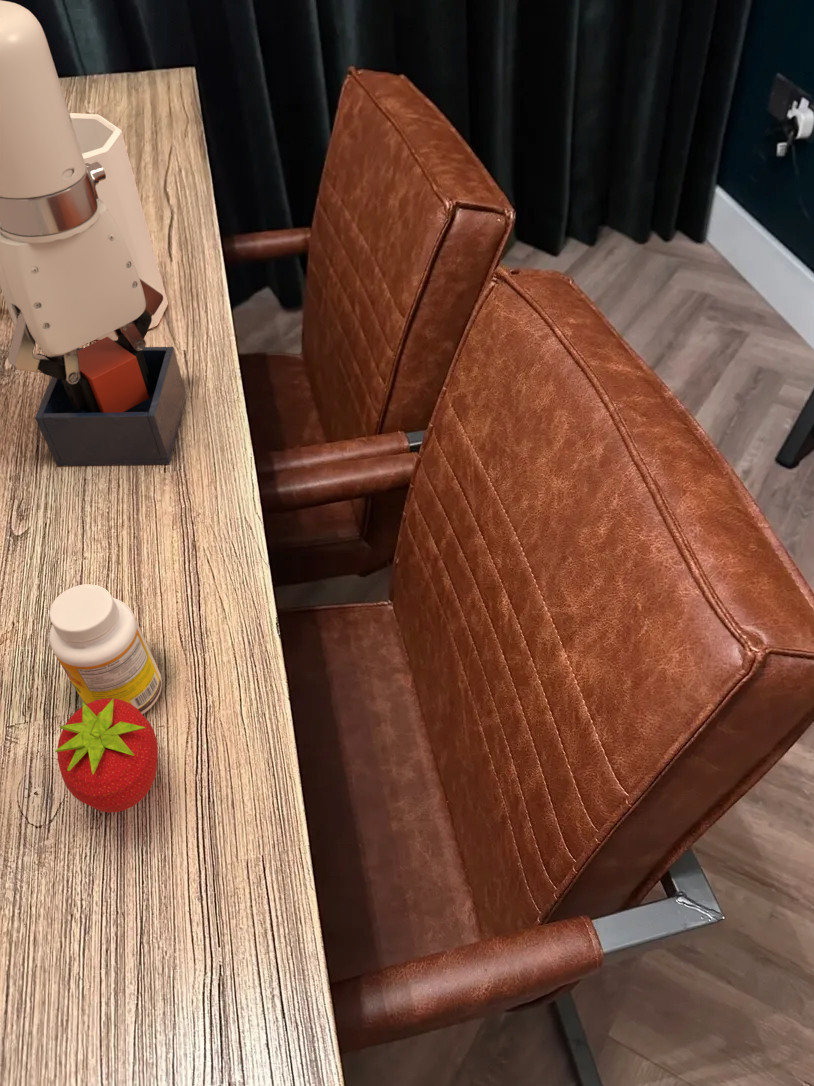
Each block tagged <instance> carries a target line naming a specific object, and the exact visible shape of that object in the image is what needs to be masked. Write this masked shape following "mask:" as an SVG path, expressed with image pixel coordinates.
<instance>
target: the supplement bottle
mask: <svg viewBox="0 0 814 1086" xmlns="http://www.w3.org/2000/svg"><path fill="white" fill-rule="evenodd" d="M48 614H49V620H50V622H51V627H50V628H49V629H50V630H49V637H48V639H49V646H50V648H51V650H52V652H53V654H54V656H55V658H56V659H57V661H58V663H59V664H60V666H61V667H62V669H63V670H64V672H65V674H66V675H67V677H68V679H69V680H70V683H71V684H72V686H73V687H74V689H75V690H76V692H77V694H78V695H79V697H80V699H81V700H82V703H83V702H84V703H85V704H88V703H90V702H93V701H95V700H99V699H104V698H115V699H120V700H123V701H126V702H128V703H130V704H131V705H133V706H134V707H136V708H137V709H138V710H139V711H140V712H141V713H142V714H143V715H144V714H145V713H146V712H147V711H149V710H150V709H151V708H152V707H153V706H154V705H155V704H156V702H157V701H158V698H159V696H160V695H161V691H162V688H163V687H162V686H163V678H162V675H161V672H160V670H159V666H158V665H157V663H156V660H155V658H154V656H153V654H152V651H151V649H150V646H149V644H148V642H147V640H146V638H145V636H144V634H143V631H142V629H141V626H140V624H139V622H138V620H137V618H136V615H135V614H134V612H133V610H132V608H131V607H129V606H128V605H127V603H125V602H124V601H122V600H120V599H118V598H115V597H113V596H112V594H111V593H110V591H108V590H107V589H106V588H105V587H103V586H101V585H98V584H92V583H91V584H90V583H86V584H85V583H84V584H79V585H75V586H72V587H70V588H67V589H66V590H64V591H63V592H61V593H60V594H59V595H57V596H56V597H55V599H54V600H53V602H52V603H51V605H50V608H49V612H48Z"/></svg>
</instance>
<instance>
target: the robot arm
mask: <svg viewBox="0 0 814 1086" xmlns="http://www.w3.org/2000/svg"><path fill="white" fill-rule="evenodd" d="M53 59H54V58H53V56H52V53H51V50H50V46H49V43H48V39H47V37H46V33H45V31H44V29H43V27H42V25H41V23H40V22H39V20H38V19H37V17H36V16H35V15H34V14H33V13H32V12H31V11H30V10H29V9H27V8H26V7H24V6H22V5H21V4H18V3H16V2H12V1H7V0H0V290H1V292H2V296H3V299H4V302H5V304H6V308H7V310H8V313H9V316H10V318H11V321H12V323H13V326H14V331H13V335H12V339H11V343H10V347H9V352H8V356H7V361H8V363H9V364H10V365H11V366H13V367H14V368H15V369H16V370H17V371H24V372H28V373H39V374H43V375H45V376H48V377H50V378H52V377H54V378H58V379H61V380H62V382H63V385H64V387H65V390H66V392H67V394H68V397H69V399H70V401H71V403H72V405H73V406H74V407H75V408H76V409H78V410H81V409H83V410H84V411H85V412H87V413H101V412H100V410H99V407H98V405H97V402H96V399H95V397H94V394H93V391H92V389H91V386H90V384H89V381H88V380H87V379H86V378H85V377H83V376H82V375H81V373H80V368H79V360H78V351H77V348H82V347H83V346H86V345H87V344H90V343H93V342H94V341H97V340H96V339H98V338H100V337H102V336H104V335H106V334H108V333H110V332H112V331H114V333H115V334H116V336H117V337H118V340H113V341H114V342H116V343H117V344H119V345H120V346H121V347H123V348H124V349H126V350H127V351H129V352H130V353H131V354H133V355H134V356H136V358H137V361H138V365H139V368H140V371H141V374H142V377H143V380H144V383H145V386H146V389H147V390H149V389H150V386H149V382H148V379H147V376H146V375H148V374H149V371H148V368H147V365H146V362H145V359H144V355H143V352H142V350H143V349H144V348H145V347H146V346H147V345H146V340H145V338H146V335H147V333H148V331H149V330H150V329H149V326H150V324H151V321H152V318H151V317H152V315H154V314H155V313H156V311H157V309H158V308H159V306H160V304H161V303H162V301H163V295H162V294H161V293H159V292H158V291H157V290H155V289H154V288H152V287H151V286H150V285H148V284H147V283H145V282H144V281H143V280H141V279H140V278H139V276H138V273H137V270H136V268H135V265H134V263H133V260H132V257H131V255H130V253H129V250H128V248H127V246H126V243H125V241H124V239H123V237H122V235H121V233H120V231H119V229H118V227H117V225H116V223H115V221H114V219H113V217H112V215H111V213H110V212H109V210H108V208H107V206H106V205H105V203H104V202H103V201H102V200H100V199H99V198H98V195H97V191H96V185H98V183H99V182H100V181H102V180H105V179H106V174H105V171H104V169H103V167H102V166H101V164H100V163H99V162H95V163H92V164H89V163H86V164H85V162H84V159H83V155H82V152H81V149H80V146H79V142H78V139H77V136H76V133H75V130H74V126H73V123H72V120H71V117H70V114H69V113H70V111H69V107H68V104H67V101H66V98H65V95H64V91H63V88H62V85H61V82H60V79H59V76H58V72H57V70H56V69H57V68H56V66H55V62H54V60H53ZM36 344H37V345H38V346H39V348H40V350H41V352H42V353H43V354H42V353H34V351H35V347H36Z"/></svg>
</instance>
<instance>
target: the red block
mask: <svg viewBox="0 0 814 1086" xmlns="http://www.w3.org/2000/svg"><path fill="white" fill-rule="evenodd" d="M114 341H115V340H112V339H110V338H109V337H105V338H103V339H101V340H96V341H95V342H92V343H91V344H89V345H87V346H84V347H82V348H83V349H81V350H79V351H78V360H79V368H80V373H81V375H82V376H83V377H85V378H86V379H87V380H88V381H89V384H90V386H91V389H92V391H93V394H94V397H95V399H96V402H97V405H98V407H99V410H100V412H101V413H107V412H125V411H127V410H128V409H130V408H132V407H134V406H136V405H138V404H139V403H141V402H143V401H145V400H147V399H149V396H148V393H147V389H146V386H145V383H144V380H143V377H142V374H141V371H140V368H139V365H138V361H137V358H136V356H134V355H133V354H131V353H130V352H129V351H127V350H126V349H124V348H123V347H121V346H120V345H119V344H117V343H116V342H114Z"/></svg>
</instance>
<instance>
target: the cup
mask: <svg viewBox="0 0 814 1086" xmlns="http://www.w3.org/2000/svg"><path fill="white" fill-rule="evenodd" d="M69 114H70V117H71V120H72V123H73V126H74V130H75V133H76V136H77V139H78V142H79V146H80V149H81V152H82V155H83V159H84V162H85V164H86V163H89V164H92V163H95V162H99V163H100V164H101V166H102V167H103V169H104V171H105V174H106V179H105V180H102V181H100V182H99V183H98V185H96V191H97V195H98V198H99V199H100V200H102V201H103V202H104V203H105V205H106V206H107V208H108V210H109V212H110V213H111V215H112V217H113V219H114V221H115V223H116V225H117V227H118V229H119V231H120V233H121V235H122V237H123V239H124V241H125V243H126V246H127V248H128V250H129V253H130V255H131V257H132V260H133V263H134V265H135V268H136V270H137V273H138V276H139V278H140V279H141V280H143V281H144V282H145V283H147V284H148V285H150V286H151V287H152V288H154V289H155V290H157V291H158V292H159V293H161V294H162V295H163V301H162V303H161V304H160V306H159V308H158V309H157V311H156V313H155V314H154V315H152V317H151V318H152V321H151V324H150V326H149V329H148V330H150V329H153V328H155V327H157V326H158V325H159V323H160V322H161V320H162V318H163V316H164V313H165V312H166V310H167V308H168V305H169V302H168V298H167V294H166V291H165V290H166V289H165V286H164V283H163V279H162V275H161V271H160V268H159V264H158V261H157V257H156V253H155V250H154V246H153V241H152V239H151V233H150V231H149V227H148V224H147V220H146V216H145V214H144V209H143V205H142V202H141V197H140V194H139V190H138V187H137V183H136V179H135V176H134V172H133V168H132V165H131V161H130V157H129V154H128V149H127V146H126V144H125V143H126V142H125V139H124V135H123V132H122V130H121V129H120V128H119V127H118V126H116V124H115V125H114V124H113V123H112V122H110V121H109V120H107V119H106V118H105V117H103V116H101V115H100V114H97V113H78V112H77V113H73V112H69ZM105 337H109V338H110V339H112V340H113V341H116V340H118V337H117V336H116V334H115V333H114V331H112V332H110V333H108V334H106V335H104V336H102V337H100V338H98V339H96V340H95V341H99V340H101V339H103V338H105Z"/></svg>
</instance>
